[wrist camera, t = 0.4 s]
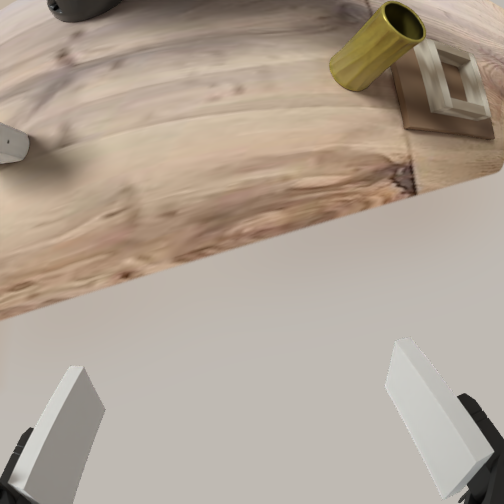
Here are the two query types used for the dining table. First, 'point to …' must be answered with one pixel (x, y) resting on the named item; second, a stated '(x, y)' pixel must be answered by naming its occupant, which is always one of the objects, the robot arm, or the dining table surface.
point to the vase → (377, 46)
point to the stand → (442, 91)
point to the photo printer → (12, 144)
